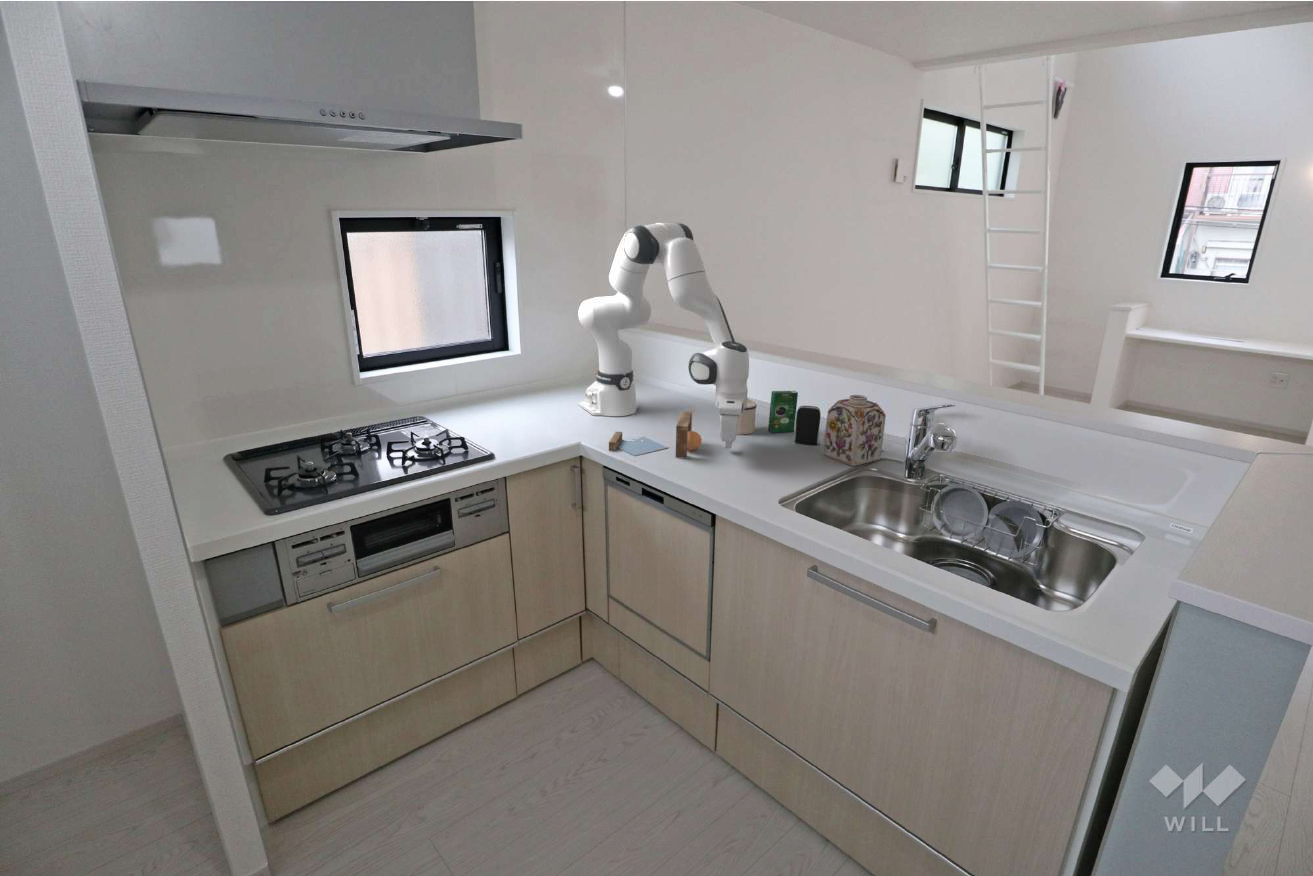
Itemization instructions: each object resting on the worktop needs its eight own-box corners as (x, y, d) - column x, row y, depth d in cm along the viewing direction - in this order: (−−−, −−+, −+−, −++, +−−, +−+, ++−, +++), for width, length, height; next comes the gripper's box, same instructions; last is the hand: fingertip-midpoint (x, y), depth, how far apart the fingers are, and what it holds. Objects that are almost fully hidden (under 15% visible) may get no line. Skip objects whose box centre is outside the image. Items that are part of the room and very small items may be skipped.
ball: (683, 426, 194) (703, 428, 193) (683, 435, 199) (702, 437, 198) (681, 443, 191) (700, 446, 191) (680, 452, 196) (700, 454, 196)
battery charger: (818, 441, 204) (821, 405, 201) (817, 445, 201) (821, 409, 197) (794, 439, 206) (797, 403, 202) (793, 443, 203) (797, 407, 199)
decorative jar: (853, 467, 184) (860, 404, 179) (821, 455, 193) (827, 394, 188) (882, 459, 191) (890, 398, 185) (850, 448, 200) (856, 389, 194)
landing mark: (611, 444, 199) (611, 444, 199) (644, 437, 206) (644, 436, 206) (634, 456, 190) (634, 455, 190) (668, 448, 197) (668, 447, 197)
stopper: (608, 450, 194) (608, 442, 193) (615, 439, 204) (615, 431, 203) (615, 450, 194) (615, 442, 193) (622, 439, 203) (622, 431, 203)
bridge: (675, 457, 190) (676, 425, 187) (681, 440, 203) (682, 411, 200) (686, 458, 189) (687, 426, 186) (691, 441, 203) (692, 411, 200)
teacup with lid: (758, 429, 216) (761, 393, 212) (749, 437, 208) (752, 400, 204) (723, 423, 221) (725, 389, 217) (713, 431, 213) (714, 395, 209)
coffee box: (791, 429, 216) (794, 389, 212) (795, 432, 213) (798, 391, 209) (767, 430, 214) (770, 390, 210) (770, 433, 212) (773, 392, 207)
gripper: (721, 390, 200) (719, 434, 204) (717, 409, 181) (715, 458, 185) (743, 391, 199) (740, 436, 203) (741, 411, 180) (738, 459, 184)
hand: (728, 446), depth 194 cm, fingers closed
